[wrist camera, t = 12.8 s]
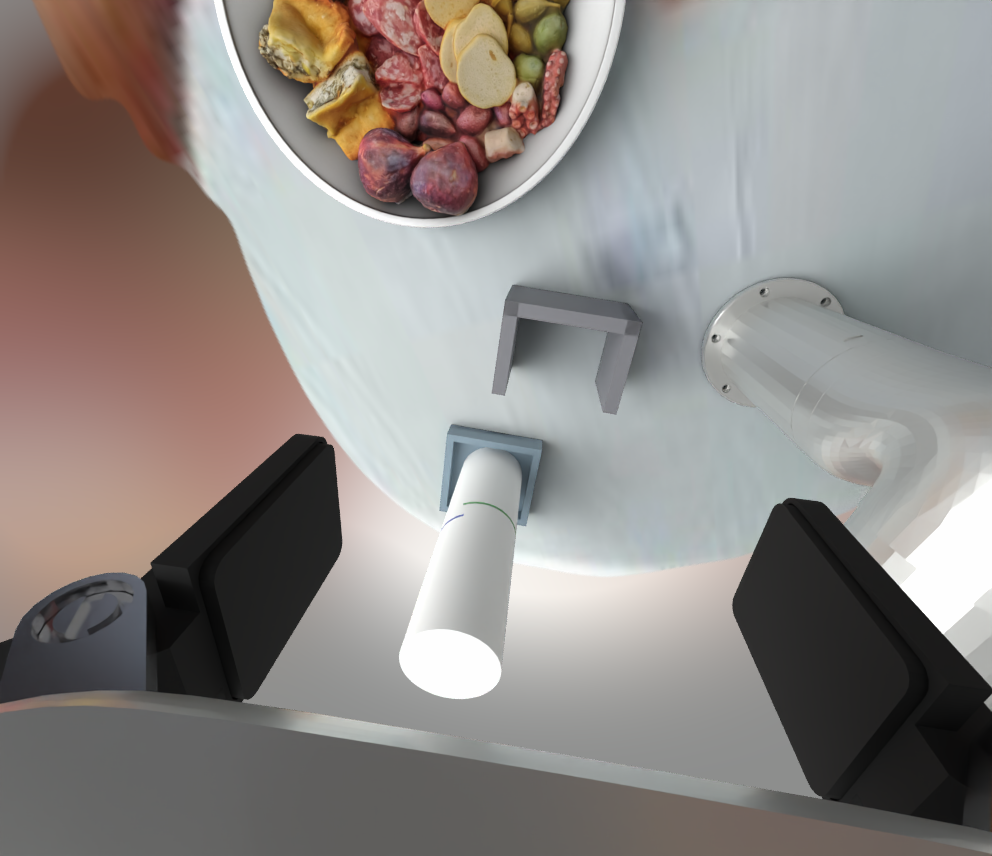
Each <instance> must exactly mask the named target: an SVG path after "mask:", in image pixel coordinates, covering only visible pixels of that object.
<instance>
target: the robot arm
mask: <svg viewBox="0 0 992 856" xmlns="http://www.w3.org/2000/svg"><path fill="white" fill-rule="evenodd" d="M761 289H763V292H762V293H761V294H760V291H761ZM822 299H823V301H822ZM821 301H822V302H821ZM714 334H715V335H716V336H715V338H711V337H712V336H713V335H714ZM701 354H702V365H703V370H704V373H705V375H706V377H707V379H708V381H709V382H710V384H711V385H712V386H713V387H714V389H715V390H716V391H717V392H718V393H719V394H720V395H721V396H723V397H725V398H726V399H728V400H729V401H731V402H734V403H736V404H739V405H742V406H748V407H754V408H756V407H757V408H758V409H759V410H760V411H761V412H762V413H763V414H764V415H765V416H766V417H767V418H768V419H769V420H770V421H771V422H772V423H773V424H774V425H776V426H777V427H778V428H779V429H780V430H781V431H782V432H783V433H784V434H785V435H786V436H787V437H788V438H789V439H790V440H791V441H792V442H793V443H794V444H795V445H796V446H797V447H798V448H799V449H800V450H801V451H802V452H803V453H804V454H805V455H806V456H807V457H808V458H809V459H810V460H811V461H812V462H814V463H815V464H816V465H817V466H819V467H820V468H821V469H822V470H824V471H826V472H827V473H829V474H831V475H833V476H835V477H837V478H839V479H842V480H845V481H849V482H852V483H855V484H859V485H864V486H871V487H872V488H871V489H870V490H869V491H868V492H867V494H866V495H865V496H864V497H863V499H862V500H861V501H860V502H859V505H858V508H857V509H856V510H855V511H854V512H853V514H852V515H851V516H850V517H849V519H848V520H847V521H846V522H845V523H844V525H843V524H842V523H841V522H840V520H839V519H838V518H837V517H836V516H835V515H834V514H833V513H832V512H831V511H830V509H829V508H828V507H827V506H826V505H825V504H823V503H822V502H818V501H811V500H803V499H796V498H788V499H786V500H785V501H784V502H783V503H782V504H777V505H776V506H774V508H773V510H772V512H771V514H770V516H769V519H768V521H767V523H766V525H765V528H764V530H763V532H762V534H761V537H760V539H759V541H758V543H757V546H756V548H755V550H754V552H753V555H752V557H751V559H750V562H749V564H748V566H747V568H746V570H745V573H744V575H743V577H742V579H741V582H740V584H739V587H738V589H737V591H736V593H735V596H734V598H733V605H732V606H733V613H734V616H735V619H736V621H737V623H738V626H739V628H740V630H741V632H742V635H743V637H744V639H745V641H746V644H747V645H748V648H749V650H750V652H751V655H752V657H753V659H754V662H755V664H756V666H757V668H758V671H759V673H760V675H761V677H762V680H763V682H764V684H765V686H766V689H767V691H768V693H769V695H770V698H771V700H772V702H773V704H774V707H775V709H776V711H777V713H778V716H779V718H780V720H781V722H782V725H783V727H784V729H785V732H786V734H787V736H788V738H789V741H790V743H791V745H792V747H793V750H794V752H795V754H796V756H797V759H798V761H799V763H800V765H801V768H802V770H803V772H804V774H805V777H806V779H807V781H808V783H809V785H810V787H811V789H812V790H813V791H814V792H815V793H816V794H817V795H819V796H822V798H823V799H818V798H812V797H807V796H801V795H795V794H789V793H783V792H778V791H772V790H766V789H761V788H755V787H749V786H744V785H738V784H732V783H726V782H721V781H715V780H709V779H703V778H698V777H692V776H686V775H681V774H675V773H669V772H663V771H658V770H652V769H646V768H640V767H633V766H628V765H622V764H616V763H610V762H605V761H599V760H593V759H587V758H580V757H575V756H569V755H563V754H557V753H551V752H545V751H539V750H534V749H528V748H522V747H515V746H510V745H504V744H498V743H492V742H486V741H480V740H474V739H468V738H462V737H456V736H450V735H444V734H438V733H431V732H425V731H419V730H413V729H407V728H401V727H395V726H389V725H382V724H376V723H370V722H364V721H358V720H351V719H346V718H339V717H333V716H327V715H321V714H315V713H309V712H303V711H297V710H290V709H283V708H276V707H269V706H262V705H255V704H248V703H242V701H243V699H247V700H248V699H250V698H252V697H253V696H254V695H255V693H256V692H257V691H258V689H259V687H260V686H261V684H262V682H263V681H264V679H265V678H266V676H267V674H268V673H269V671H270V669H271V668H272V666H273V664H274V663H275V661H276V659H277V658H278V656H279V654H280V653H281V651H282V650H283V648H284V646H285V645H286V643H287V641H288V639H289V638H290V636H291V635H292V633H293V631H294V630H295V628H296V626H297V625H298V623H299V621H300V620H301V618H302V617H303V615H304V613H305V611H306V610H307V608H308V607H309V605H310V603H311V602H312V600H313V598H314V597H315V595H316V593H317V592H318V590H319V589H320V587H321V585H322V583H323V582H324V580H325V579H326V577H327V575H328V574H329V572H330V570H331V569H332V567H333V565H334V563H335V562H336V560H337V559H338V557H339V555H340V552H341V548H342V533H341V520H340V509H339V498H338V487H337V475H336V465H335V453H334V448H333V446H332V445H329V444H327V442H326V440H325V438H323V437H319V436H311V435H304V434H295V435H294V436H292V437H291V438H290V439H289V440H288V441H287V442H286V443H284V445H282V446H281V447H280V448H279V449H278V450H277V451H276V452H274V453H273V454H272V455H271V456H270V457H269V458H268V459H266V460H265V461H264V462H263V463H262V464H261V465H260V466H259V467H258V468H256V469H255V470H254V471H253V472H252V473H251V474H250V475H249V476H247V477H246V478H245V479H244V480H243V481H242V482H241V483H240V484H238V486H236V487H235V488H234V489H233V490H232V491H231V492H229V493H228V494H227V495H226V496H225V497H224V498H223V499H222V500H220V501H219V502H218V503H217V504H216V505H215V506H214V507H213V508H212V509H210V510H209V511H208V512H207V513H206V514H205V515H204V516H203V517H201V518H200V519H199V520H198V521H197V522H196V523H195V524H194V525H192V526H191V527H190V528H189V529H188V530H187V531H186V532H185V533H184V534H183V535H181V536H180V537H179V538H178V539H177V540H176V541H175V542H173V543H172V544H171V545H170V546H169V547H168V548H167V549H165V550H164V551H163V552H162V553H161V554H160V555H159V556H158V557H157V558H155V559H154V560H153V561H152V562H151V566H152V569H151V570H150V571H148V572H147V573H146V574H145V575H144V576H143V577H142V578H141V579H140V578H138V577H137V576H135V575H131V574H127V573H105V574H100V575H95V576H90V577H87V578H84V579H81V580H78V581H76V582H73V583H70V584H68V585H66V586H64V587H62V588H60V589H58V590H56V591H54V592H53V593H51V594H49V595H48V596H46V597H45V598H44V599H42V600H41V601H39V602H38V603H37V604H35V605H34V606H33V607H32V608H31V609H30V610H29V611H28V612H27V613H26V614H25V615H24V616H23V617H22V619H21V621H20V623H19V625H18V626H17V628H16V630H15V633H14V637H13V638H12V639H9V640H7V641H4V642H1V643H0V856H992V367H988V366H985V365H982V364H978V363H975V362H972V361H969V360H966V359H963V358H960V357H957V356H954V355H951V354H948V353H945V352H942V351H939V350H936V349H934V348H931V347H928V346H926V345H923V344H920V343H918V342H915V341H912V340H910V339H907V338H904V337H902V336H899V335H896V334H894V333H891V332H888V331H886V330H883V329H880V328H878V327H875V326H872V325H870V324H867V323H864V322H862V321H859V320H856V319H854V318H851V317H848V316H846V315H845V314H844V312H843V309H842V306H841V305H840V303H839V302H838V300H837V299H836V297H835V296H833V295H832V294H831V293H830V292H829V291H828V290H827V289H825V288H823V287H821V286H819V285H817V284H816V283H813V282H810V281H806V280H802V279H796V278H776V279H772V280H767V281H763V282H760V283H758V284H755V285H753V286H750V287H748V288H746V289H745V290H743V291H741V292H740V293H738V294H736V295H735V296H734V297H733V298H731V299H730V300H729V301H728V302H727V303H725V305H724V306H723V307H722V308H721V309H720V310H719V311H718V312H717V314H716V315H715V316H714V318H713V320H712V321H711V323H710V324H709V326H708V329H707V331H706V334H705V336H704V339H703V344H702V349H701ZM725 385H726V386H725ZM723 386H725V387H724V388H722V387H723Z"/></svg>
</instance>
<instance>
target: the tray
mask: <svg viewBox="0 0 992 856" xmlns="http://www.w3.org/2000/svg"><path fill="white" fill-rule="evenodd" d="M485 447H488V448H494V449H500V450H505V451H507V452H509V453H510V454H511V455H513V456H514V457H515V458H516V459H517V461H518V462H519V464H520V466H521V470H522V482H521V491H520V500H519V510H518V519H517V525H522V526H526V524H527V519H528V514H529V509H530V505H531V500H532V495H533V491H534V486H535V481H536V476H537V472H538V467H539V462H540V458H541V453H542V440H538V439H532V438H526V437H521V436H515V435H509V434H503V433H497V432H492V431H486V430H480V429H474V428H469V427H463V426H457V425H451V427H450V429H449V431H448V433H447V440H446V450H445V460H444V471H443V481H442V491H441V501H440V511H444V512H447V511H448V508H449V505H450V502H451V499H452V496H453V493H454V490H455V487H456V484H457V481H458V478H459V476H460V473H461V470H462V467H463V464H464V461H465V460H466V458H467V457H468V456H469V455H470V454H471V453H472V452H474V451H475V450H478V449H480V448H485Z"/></svg>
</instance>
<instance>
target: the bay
mask: <svg viewBox="0 0 992 856" xmlns="http://www.w3.org/2000/svg"><path fill="white" fill-rule="evenodd" d="M519 318H526V319H532V320H538V321H544V322H551V323H557V324H563V325H569V326H575V327H581V328H587V329H593V330H599V331H606V332H608V333H607V337H606V341H605V345H604V349H603V353H602V357H601V361H600V365H599V369H598V373H597V377H596V381H595V382H596V386H597V390H598V394H599V398H600V402H601V406H602V410H603V412H604V413H610V414H617V410H618V407H619V403H620V400H621V396H622V393H623V389H624V386H625V382H626V379H627V375H628V372H629V368H630V365H631V361H632V358H633V354H634V351H635V347H636V344H637V340H638V337H639V333H640V330H641V326H642V323H643V322H642V321H641V320H640V319H639V317H638V316H637V315H636V313H635V312H634V311H633V310H632V308H631V307H630V306H629V304H628V303H621V302H615V301H609V300H603V299H597V298H590V297H584V296H578V295H572V294H566V293H559V292H553V291H547V290H541V289H534V288H528V287H522V286H516V285H512V287H511V289H510V291H509V293H508V295H507V297H506V299H505V305H504V311H503V318H502V325H501V332H500V339H499V346H498V353H497V360H496V367H495V374H494V381H493V388H492V394H498V395H504V396H505V392H506V388H507V384H508V380H509V376H510V372H511V368H512V362H513V355H514V349H515V343H516V337H517V330H518V324H519Z"/></svg>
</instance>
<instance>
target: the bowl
mask: <svg viewBox="0 0 992 856" xmlns="http://www.w3.org/2000/svg"><path fill="white" fill-rule="evenodd" d="M214 3H215V7H216V12H217V16H218V21H219V24H220V28H221V32H222V35H223V39H224V42H225V45H226V48H227V51H228V54H229V57H230V59H231V62H232V65H233V67H234V70H235V72H236V74H237V77H238V79H239V81H240V84H241V86H242V88H243V90H244V92H245V94H246V96H247V98H248V100H249V102H250V104H251V106H252V107H253V109H254V111H255V113H256V114H257V116H258V118H259V119H260V121H261V123H262V124H263V126H264V127H265V129H266V130H267V132H268V133H269V135H270V136H271V137H272V139H273V140H274V141H275V143H276V144H277V145H278V147H279V148H280V149H281V150H282V152H283V153H284V154H285V155H286V156H287V158H288V159H289V160H290V161H291V162H292V163H293V164H294V165H295V166H296V167H297V168H298V169H299V170H300V171H301V172H302V173H303V174H304V175H305V176H306V177H307V178H308V179H309V180H311V181H312V182H313V183H314V184H315V185H316V186H318V187H319V188H320V189H322V190H323V191H324V192H325V193H327V194H328V195H330V196H331V197H333V198H334V199H336V200H337V201H339V202H341V203H342V204H344V205H346V206H347V207H349V208H351V209H353V210H355V211H357V212H359V213H362V214H364V215H366V216H369V217H372V218H374V219H377V220H380V221H384V222H387V223H391V224H396V225H401V226H408V227H419V228H437V227H447V226H453V225H459V224H463V223H467V222H471V221H474V220H477V219H481V218H483V217H486V216H488V215H491V214H493V213H495V212H497V211H499V210H501V209H503V208H505V207H507V206H508V205H510V204H512V203H513V202H515V201H516V200H518V199H519V198H521V197H522V196H524V195H525V194H526V193H528V192H529V191H530V190H532V189H533V188H534V187H535V186H536V185H537V184H538V183H540V182H541V181H542V180H543V179H544V178H545V177H546V176H547V175H548V174H549V173H550V172H551V171H552V170H553V169H554V168H555V166H556V165H557V164H558V163H559V162H560V161H561V160H562V158H563V157H564V156H565V155H566V153H567V152H568V151H569V149H570V148H571V147H572V145H573V144H574V142H575V141H576V139H577V138H578V136H579V135H580V133H581V131H582V130H583V128H584V126H585V125H586V123H587V121H588V119H589V117H590V115H591V114H592V112H593V110H594V108H595V105H596V103H597V101H598V99H599V97H600V95H601V92H602V90H603V87H604V85H605V82H606V80H607V77H608V74H609V71H610V68H611V66H612V63H613V59H614V56H615V52H616V49H617V45H618V41H619V37H620V32H621V28H622V22H623V17H624V11H625V4H626V0H214Z"/></svg>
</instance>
